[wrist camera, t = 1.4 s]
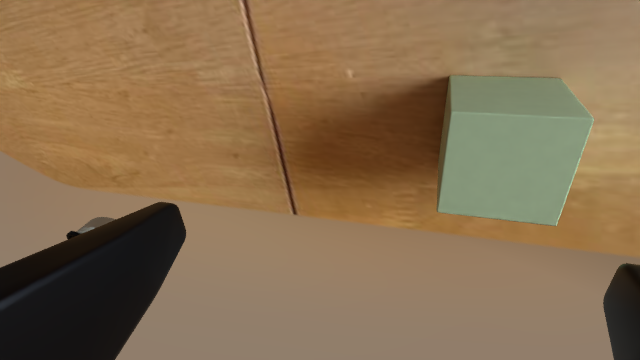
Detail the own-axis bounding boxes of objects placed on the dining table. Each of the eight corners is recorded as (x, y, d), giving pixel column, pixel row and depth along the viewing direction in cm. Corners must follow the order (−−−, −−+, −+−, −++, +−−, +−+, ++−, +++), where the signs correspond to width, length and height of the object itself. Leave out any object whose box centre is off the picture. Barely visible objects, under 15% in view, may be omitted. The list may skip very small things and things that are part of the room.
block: (534, 169, 18) (556, 227, 14) (438, 161, 19) (436, 212, 15) (560, 77, 15) (595, 118, 12) (449, 74, 17) (450, 111, 13)
